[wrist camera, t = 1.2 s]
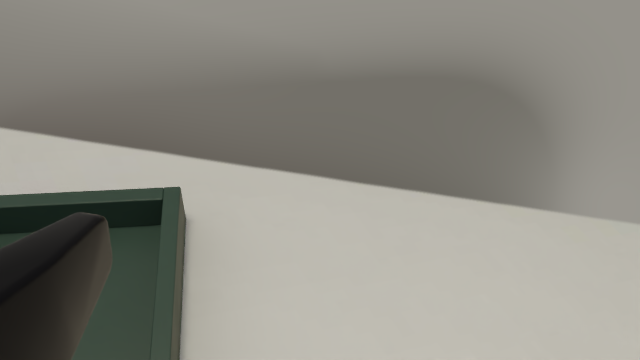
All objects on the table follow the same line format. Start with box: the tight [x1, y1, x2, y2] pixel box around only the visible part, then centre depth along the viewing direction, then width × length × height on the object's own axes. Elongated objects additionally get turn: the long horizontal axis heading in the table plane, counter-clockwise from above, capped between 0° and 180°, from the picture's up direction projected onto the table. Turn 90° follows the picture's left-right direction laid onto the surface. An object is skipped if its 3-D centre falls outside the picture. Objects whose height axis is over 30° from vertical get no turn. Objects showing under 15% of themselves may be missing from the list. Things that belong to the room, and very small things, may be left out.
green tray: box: [0, 187, 186, 360], centre depth 22 cm, size 11×15×2 cm
